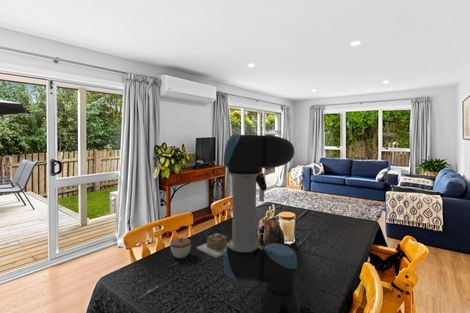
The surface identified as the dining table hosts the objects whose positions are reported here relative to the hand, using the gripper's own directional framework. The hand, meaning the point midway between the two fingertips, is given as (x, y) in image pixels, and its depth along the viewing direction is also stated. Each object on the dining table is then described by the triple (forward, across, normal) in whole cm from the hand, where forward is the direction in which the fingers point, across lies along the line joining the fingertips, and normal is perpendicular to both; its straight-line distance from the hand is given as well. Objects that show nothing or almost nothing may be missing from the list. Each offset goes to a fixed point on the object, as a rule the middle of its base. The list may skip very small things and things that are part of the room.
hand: (254, 203), depth 145 cm
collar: (+26, -13, +16) cm, 33 cm away
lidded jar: (+27, -32, +24) cm, 48 cm away
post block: (+27, -13, +16) cm, 34 cm away
